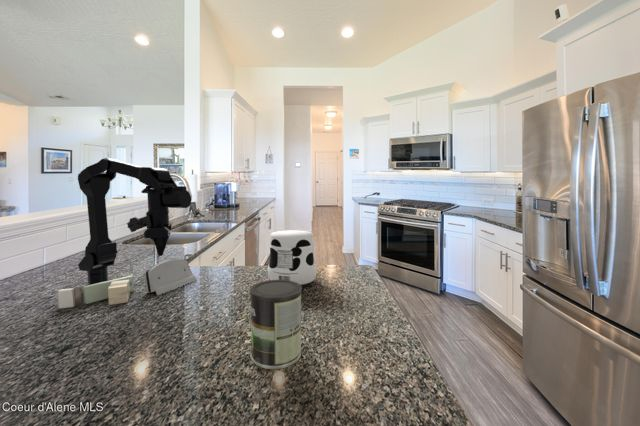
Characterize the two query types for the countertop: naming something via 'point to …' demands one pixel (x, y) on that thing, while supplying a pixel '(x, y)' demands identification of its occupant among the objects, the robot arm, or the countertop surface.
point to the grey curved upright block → (168, 276)
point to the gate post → (78, 295)
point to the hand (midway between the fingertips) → (160, 255)
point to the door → (102, 290)
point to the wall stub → (66, 298)
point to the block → (119, 292)
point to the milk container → (292, 256)
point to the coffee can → (275, 323)
